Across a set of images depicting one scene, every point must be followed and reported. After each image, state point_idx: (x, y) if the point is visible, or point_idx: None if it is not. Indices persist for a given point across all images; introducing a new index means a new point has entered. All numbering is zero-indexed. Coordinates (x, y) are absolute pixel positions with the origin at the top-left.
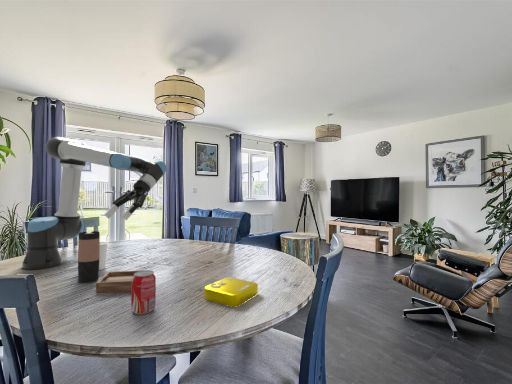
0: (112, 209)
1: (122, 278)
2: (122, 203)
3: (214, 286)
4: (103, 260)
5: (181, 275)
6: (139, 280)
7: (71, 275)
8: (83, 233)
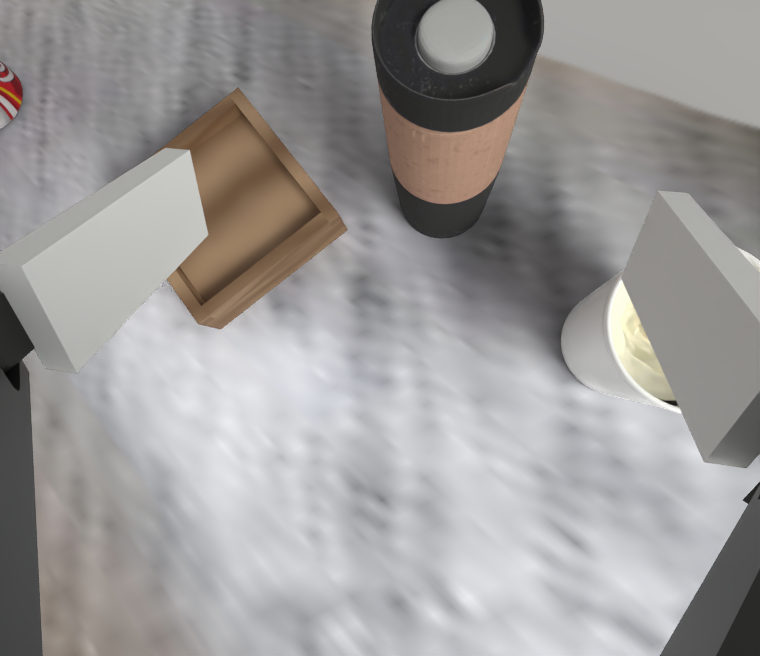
0: (700, 310)
1: (240, 224)
2: (714, 571)
3: None
4: (574, 351)
5: (100, 465)
6: None
7: (600, 205)
8: (533, 21)
